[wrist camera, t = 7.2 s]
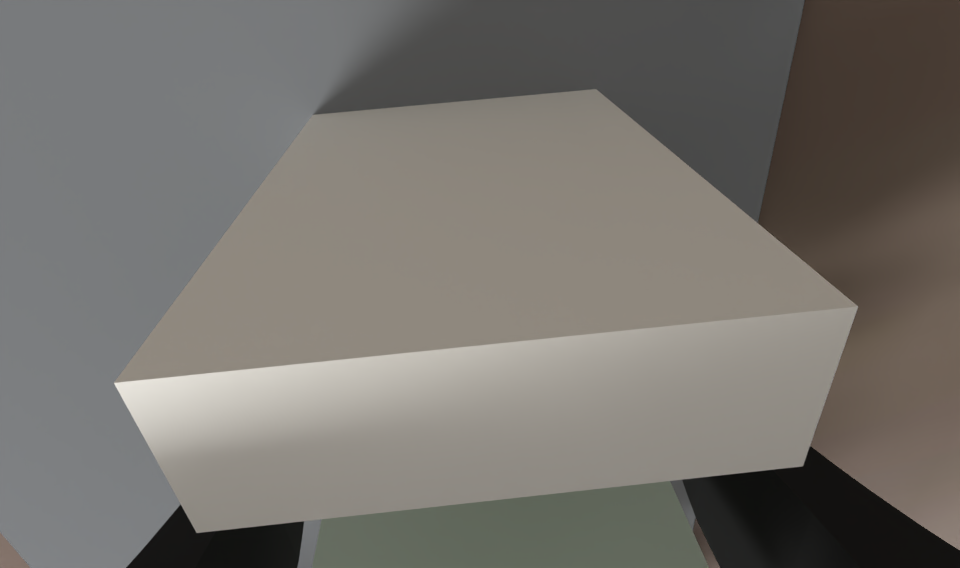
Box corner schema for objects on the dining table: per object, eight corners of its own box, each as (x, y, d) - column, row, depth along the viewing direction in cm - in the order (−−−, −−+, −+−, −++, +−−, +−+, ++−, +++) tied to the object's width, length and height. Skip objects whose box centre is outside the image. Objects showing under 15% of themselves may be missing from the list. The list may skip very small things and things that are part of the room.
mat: (660, 655, 21) (664, 667, 21) (170, 713, 21) (166, 726, 21) (839, -239, 8) (856, -247, 8) (-527, -135, 7) (-572, -139, 7)
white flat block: (592, 175, 11) (802, 465, 5) (331, 200, 10) (195, 533, 4) (596, 89, 10) (858, 306, 4) (312, 115, 10) (113, 382, 4)
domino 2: (586, 356, 13) (719, 707, 7) (372, 378, 13) (319, 755, 7) (588, 299, 12) (743, 642, 6) (360, 321, 12) (286, 695, 6)
